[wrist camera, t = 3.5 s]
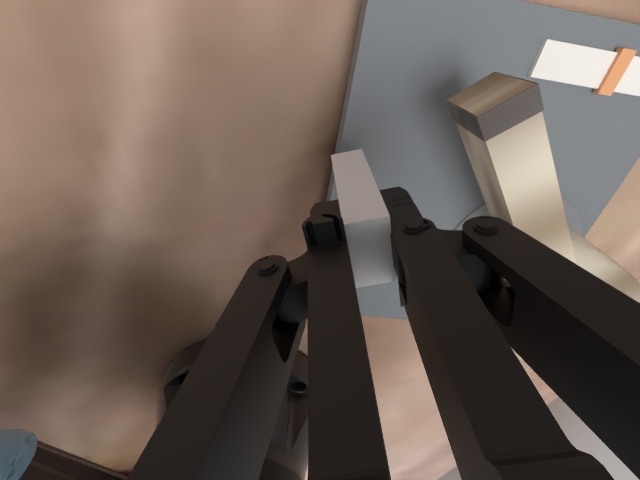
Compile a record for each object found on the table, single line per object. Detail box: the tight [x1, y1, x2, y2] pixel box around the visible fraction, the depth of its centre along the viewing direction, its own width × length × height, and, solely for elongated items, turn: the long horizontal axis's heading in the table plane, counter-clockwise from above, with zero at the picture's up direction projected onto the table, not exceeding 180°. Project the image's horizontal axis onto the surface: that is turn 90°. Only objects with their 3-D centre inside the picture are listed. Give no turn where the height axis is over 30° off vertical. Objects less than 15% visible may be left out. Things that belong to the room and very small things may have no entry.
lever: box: [446, 72, 640, 360], centre depth 17 cm, size 16×7×7 cm, turn 31°
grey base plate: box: [326, 0, 640, 319], centre depth 21 cm, size 20×17×2 cm
